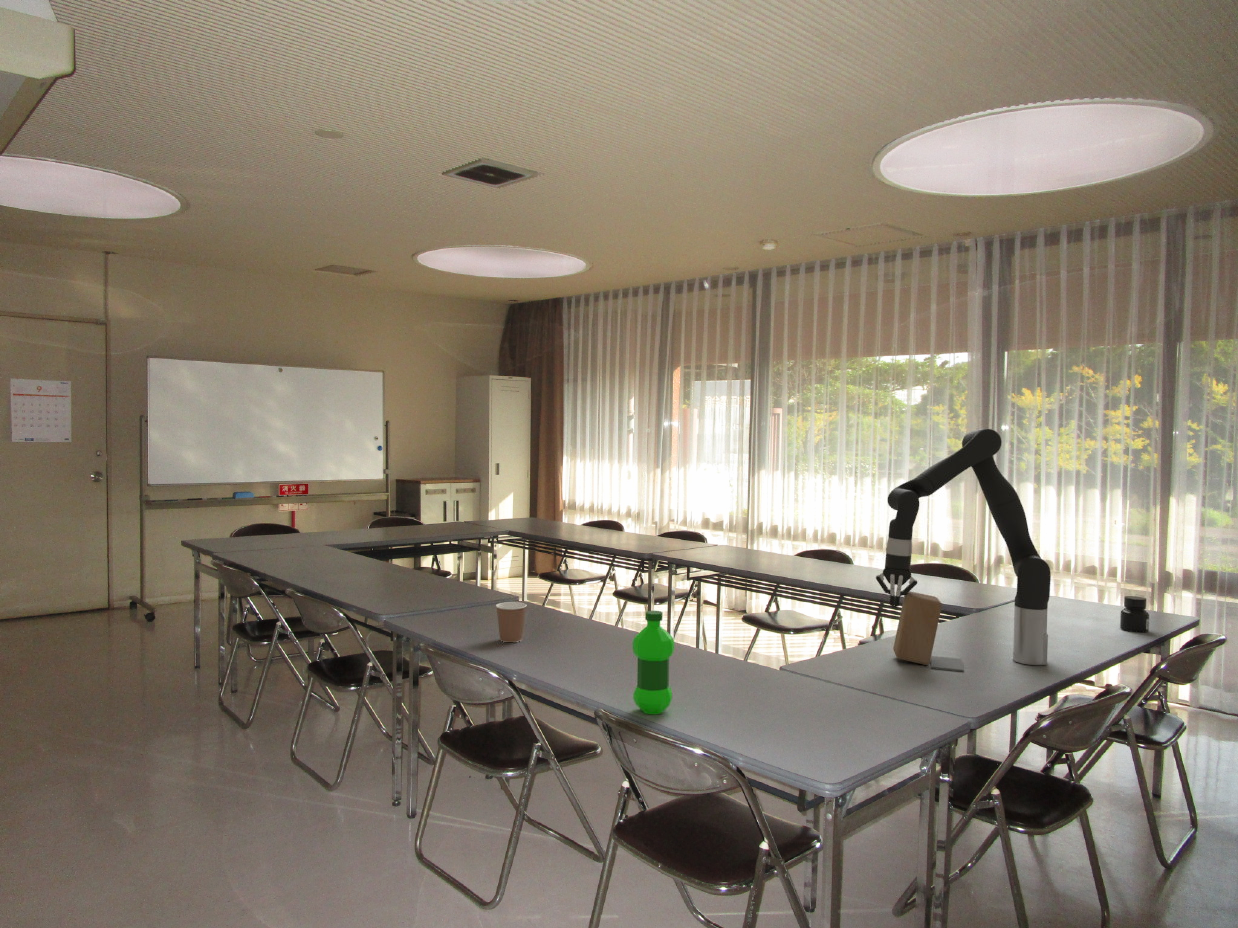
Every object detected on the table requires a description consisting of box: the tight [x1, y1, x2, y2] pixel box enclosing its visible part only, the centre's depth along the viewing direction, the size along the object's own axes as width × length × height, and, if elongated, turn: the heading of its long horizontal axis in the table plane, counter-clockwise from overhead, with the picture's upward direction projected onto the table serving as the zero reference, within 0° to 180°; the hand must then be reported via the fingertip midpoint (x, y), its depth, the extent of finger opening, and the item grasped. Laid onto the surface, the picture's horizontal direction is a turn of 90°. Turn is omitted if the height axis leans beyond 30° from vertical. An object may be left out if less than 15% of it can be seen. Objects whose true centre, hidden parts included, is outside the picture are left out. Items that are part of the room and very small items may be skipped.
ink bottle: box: [1119, 595, 1150, 633], centre depth 300 cm, size 10×9×12 cm
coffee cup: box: [495, 601, 528, 643], centre depth 275 cm, size 10×10×12 cm
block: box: [892, 590, 943, 666], centre depth 255 cm, size 10×10×20 cm
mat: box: [930, 655, 964, 672], centre depth 252 cm, size 9×13×1 cm
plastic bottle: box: [632, 610, 675, 715], centre depth 207 cm, size 10×10×25 cm
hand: (894, 607), depth 257 cm, fingers closed
